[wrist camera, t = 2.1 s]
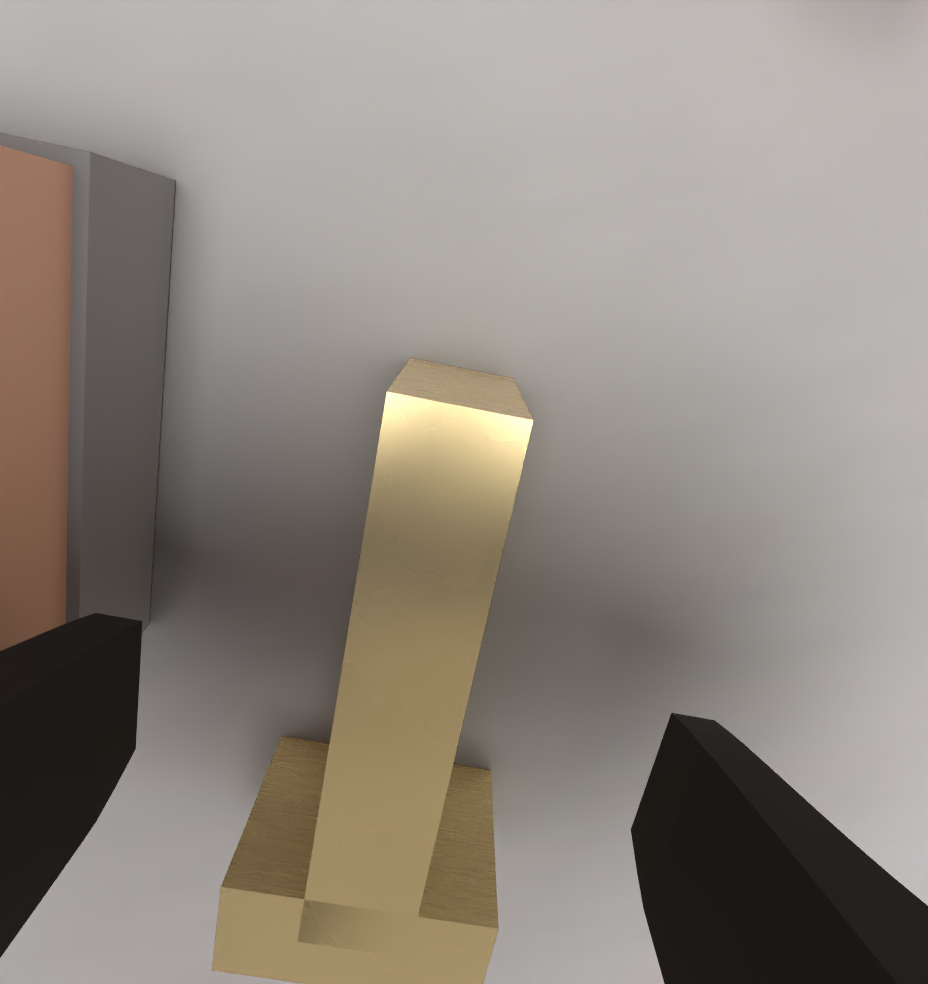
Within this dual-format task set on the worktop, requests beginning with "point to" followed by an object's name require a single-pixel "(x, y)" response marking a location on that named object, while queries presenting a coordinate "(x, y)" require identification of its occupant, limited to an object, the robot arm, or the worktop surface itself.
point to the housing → (113, 377)
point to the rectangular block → (394, 723)
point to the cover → (34, 392)
